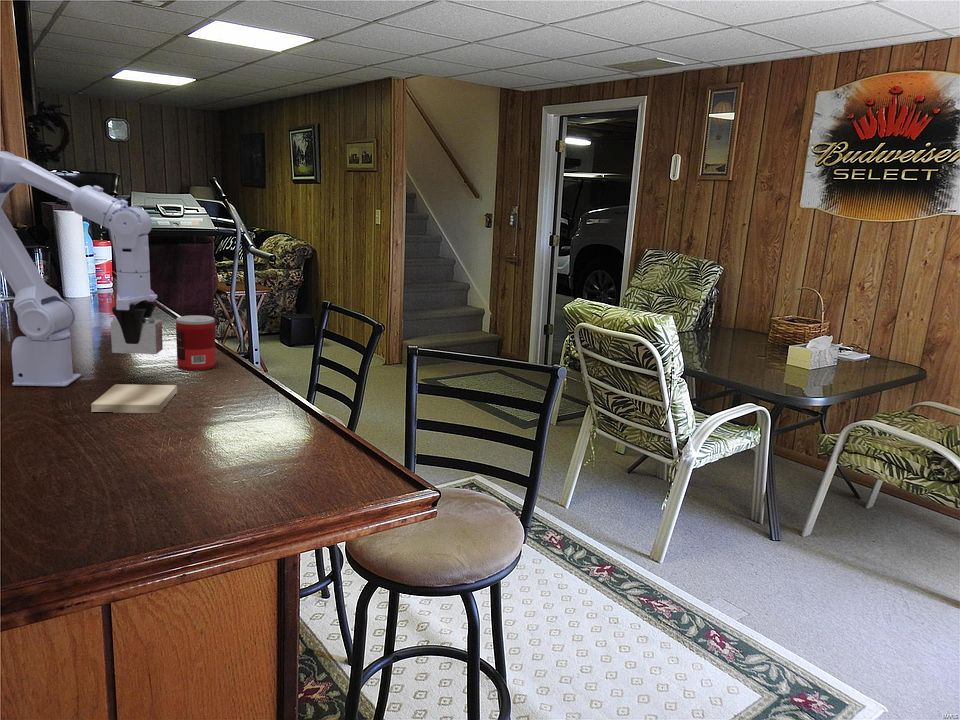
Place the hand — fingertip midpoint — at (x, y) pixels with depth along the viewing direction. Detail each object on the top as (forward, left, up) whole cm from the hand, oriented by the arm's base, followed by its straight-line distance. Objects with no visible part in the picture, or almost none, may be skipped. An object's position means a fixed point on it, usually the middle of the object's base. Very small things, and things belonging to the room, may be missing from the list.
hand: (136, 340), depth 136 cm
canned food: (+8, +15, -9) cm, 19 cm away
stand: (+3, -12, -9) cm, 15 cm away
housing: (0, 0, -2) cm, 2 cm away
